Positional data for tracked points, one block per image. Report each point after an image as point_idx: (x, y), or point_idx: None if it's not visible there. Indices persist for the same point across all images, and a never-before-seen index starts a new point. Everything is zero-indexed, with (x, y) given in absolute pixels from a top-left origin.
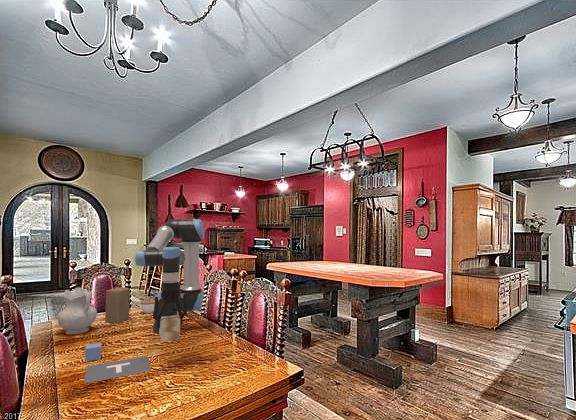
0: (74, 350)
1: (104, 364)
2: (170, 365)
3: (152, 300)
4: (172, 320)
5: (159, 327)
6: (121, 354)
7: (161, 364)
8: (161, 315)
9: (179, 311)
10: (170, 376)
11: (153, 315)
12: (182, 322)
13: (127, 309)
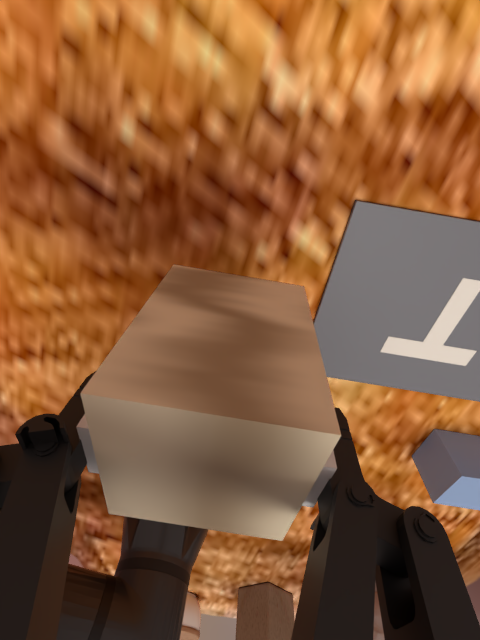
0: (441, 514)
1: (457, 386)
2: (250, 221)
3: None
4: (197, 398)
5: None
6: (358, 432)
7: (280, 261)
8: (336, 549)
9: (23, 544)
10: (306, 43)
11: (453, 587)
12: (82, 385)
13: (242, 624)
